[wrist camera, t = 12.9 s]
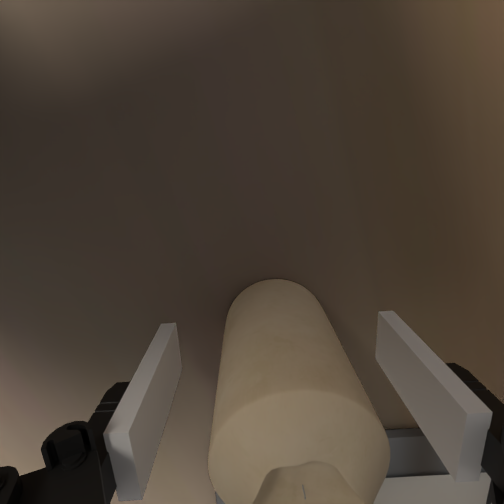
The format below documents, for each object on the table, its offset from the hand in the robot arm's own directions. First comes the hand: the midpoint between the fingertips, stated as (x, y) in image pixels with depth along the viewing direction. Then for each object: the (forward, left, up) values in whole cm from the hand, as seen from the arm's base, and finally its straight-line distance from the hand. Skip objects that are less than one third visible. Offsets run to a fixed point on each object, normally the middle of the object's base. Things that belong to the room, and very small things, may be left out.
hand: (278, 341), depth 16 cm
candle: (0, 0, -2) cm, 2 cm away
